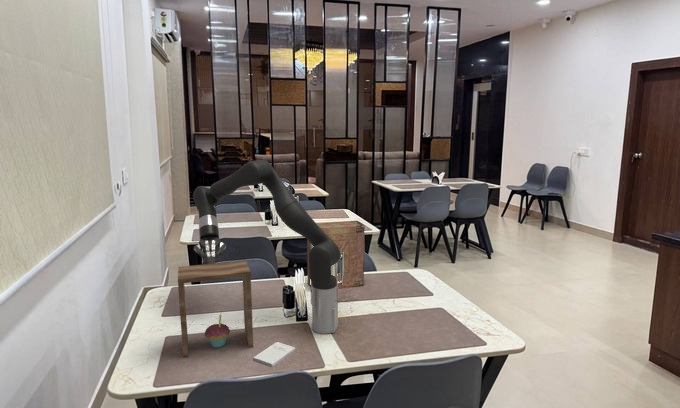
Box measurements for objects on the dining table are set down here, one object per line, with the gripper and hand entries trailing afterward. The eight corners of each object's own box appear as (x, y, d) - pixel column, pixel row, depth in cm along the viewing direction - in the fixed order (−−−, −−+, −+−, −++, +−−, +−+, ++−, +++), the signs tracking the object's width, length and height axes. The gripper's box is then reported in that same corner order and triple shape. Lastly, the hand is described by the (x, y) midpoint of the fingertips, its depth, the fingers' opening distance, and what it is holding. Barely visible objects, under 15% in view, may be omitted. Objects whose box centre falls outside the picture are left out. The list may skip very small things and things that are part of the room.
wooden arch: (183, 340, 157) (178, 266, 152) (248, 331, 164) (245, 260, 159) (183, 358, 145) (177, 279, 140) (253, 347, 152) (250, 271, 147)
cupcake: (235, 341, 157) (234, 309, 154) (219, 352, 149) (217, 319, 147) (216, 336, 160) (214, 305, 158) (200, 347, 153) (198, 314, 150)
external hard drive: (252, 361, 144) (276, 345, 155) (272, 368, 140) (295, 351, 151) (252, 357, 144) (276, 341, 155) (272, 364, 140) (295, 347, 151)
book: (312, 291, 203) (311, 228, 197) (307, 285, 211) (306, 224, 206) (363, 285, 210) (364, 224, 205) (357, 279, 219) (357, 220, 214)
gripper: (191, 225, 174) (193, 263, 165) (225, 222, 178) (229, 260, 169) (191, 234, 180) (194, 272, 171) (225, 232, 184) (228, 269, 175)
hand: (211, 266), depth 170 cm, fingers closed
